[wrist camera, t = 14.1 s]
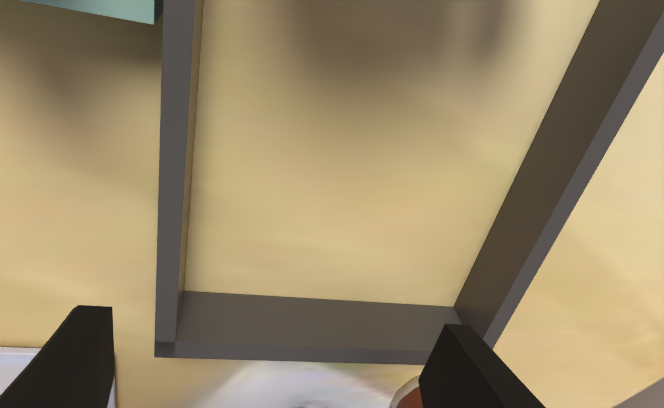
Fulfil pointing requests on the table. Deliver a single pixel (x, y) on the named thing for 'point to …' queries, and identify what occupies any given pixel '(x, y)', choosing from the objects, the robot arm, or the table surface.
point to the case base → (388, 318)
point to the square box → (112, 8)
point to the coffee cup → (408, 395)
